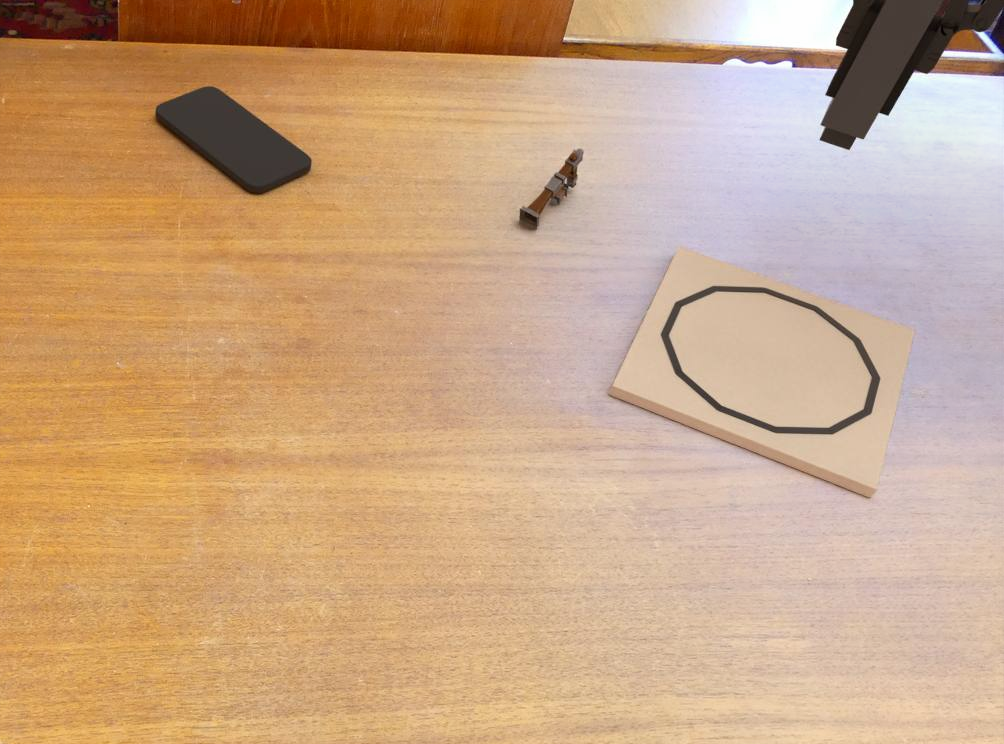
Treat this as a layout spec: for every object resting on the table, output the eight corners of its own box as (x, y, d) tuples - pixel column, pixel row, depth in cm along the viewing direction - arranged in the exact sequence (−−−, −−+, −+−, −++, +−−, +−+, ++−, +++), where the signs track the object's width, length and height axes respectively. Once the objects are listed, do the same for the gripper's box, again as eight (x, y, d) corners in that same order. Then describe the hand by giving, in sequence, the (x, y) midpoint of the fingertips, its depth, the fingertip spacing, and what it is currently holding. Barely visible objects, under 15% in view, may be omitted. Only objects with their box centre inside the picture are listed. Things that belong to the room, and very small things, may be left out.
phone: (254, 189, 96) (149, 107, 102) (254, 198, 97) (149, 115, 103) (317, 161, 99) (212, 82, 105) (316, 169, 100) (211, 91, 106)
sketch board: (909, 339, 92) (916, 328, 91) (870, 498, 81) (878, 488, 80) (674, 254, 96) (679, 244, 95) (607, 394, 85) (612, 384, 84)
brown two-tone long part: (587, 180, 100) (591, 147, 96) (535, 246, 99) (537, 216, 95) (570, 171, 101) (573, 138, 97) (518, 236, 100) (519, 206, 96)
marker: (862, 135, 89) (972, -59, 77) (854, 155, 87) (966, -41, 75) (820, 121, 90) (922, -74, 78) (811, 141, 88) (915, -55, 76)
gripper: (909, -281, 67) (743, 84, 86) (1203, -210, 63) (962, 157, 82) (928, -312, 71) (766, 43, 90) (1205, -247, 67) (975, 110, 86)
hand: (859, 96), depth 86 cm, fingers closed on marker, 3 cm apart
